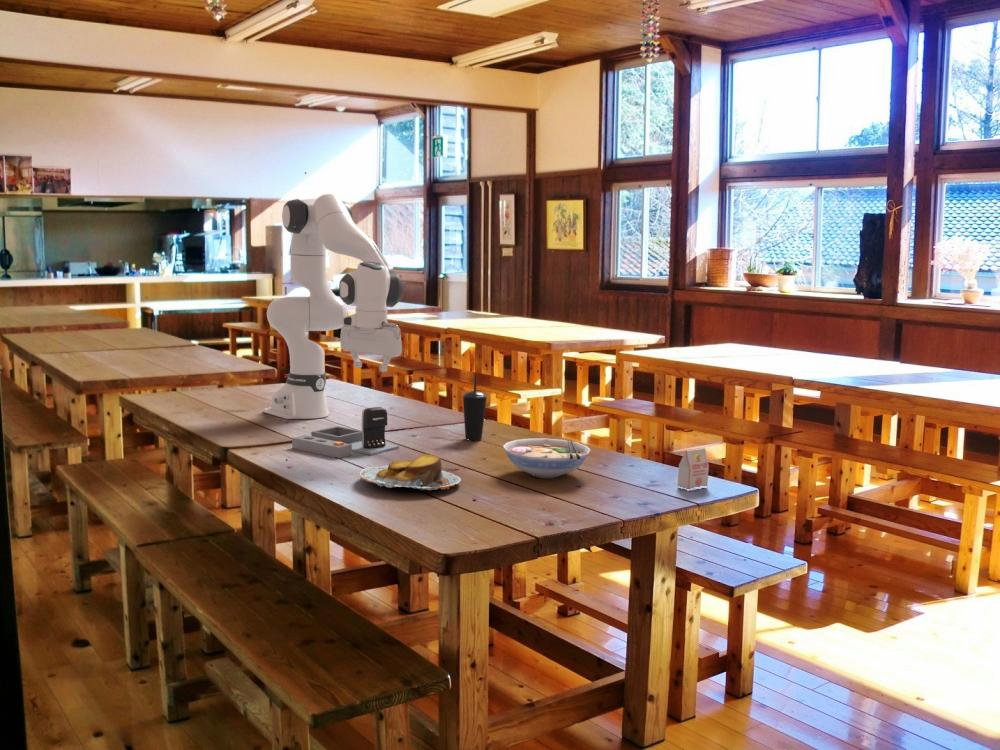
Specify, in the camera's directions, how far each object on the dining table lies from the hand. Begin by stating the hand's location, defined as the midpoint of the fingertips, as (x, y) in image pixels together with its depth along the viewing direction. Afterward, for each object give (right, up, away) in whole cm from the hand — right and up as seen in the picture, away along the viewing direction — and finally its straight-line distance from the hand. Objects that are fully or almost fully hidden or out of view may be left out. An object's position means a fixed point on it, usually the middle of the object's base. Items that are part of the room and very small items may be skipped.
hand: (370, 369), depth 272 cm
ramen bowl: (+48, -28, -20) cm, 59 cm away
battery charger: (+1, -22, +2) cm, 22 cm away
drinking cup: (+28, -21, +20) cm, 41 cm away
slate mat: (-1, -22, +3) cm, 23 cm away
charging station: (-10, -22, +5) cm, 25 cm away
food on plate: (+14, -29, -33) cm, 46 cm away
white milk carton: (+85, -30, -28) cm, 95 cm away
